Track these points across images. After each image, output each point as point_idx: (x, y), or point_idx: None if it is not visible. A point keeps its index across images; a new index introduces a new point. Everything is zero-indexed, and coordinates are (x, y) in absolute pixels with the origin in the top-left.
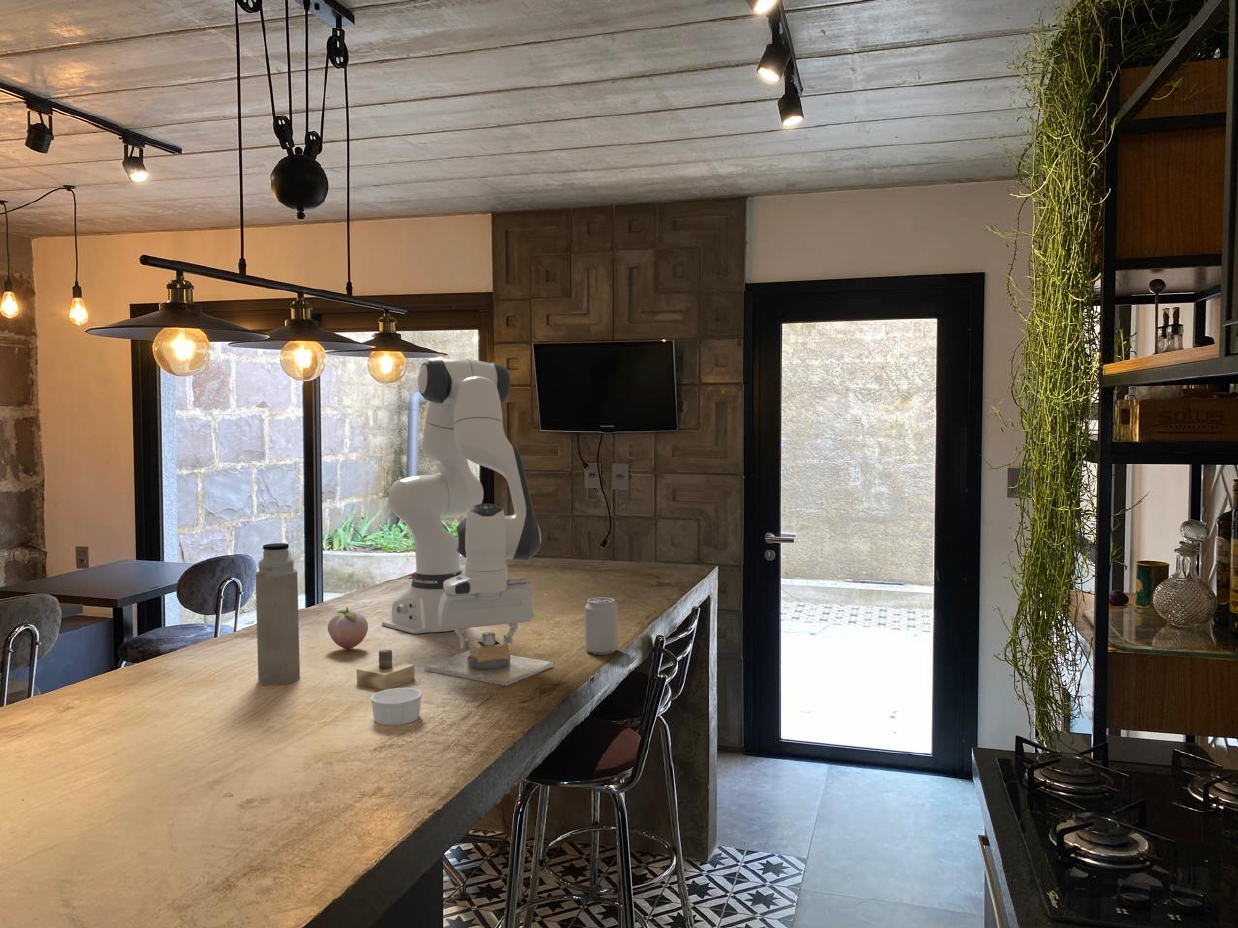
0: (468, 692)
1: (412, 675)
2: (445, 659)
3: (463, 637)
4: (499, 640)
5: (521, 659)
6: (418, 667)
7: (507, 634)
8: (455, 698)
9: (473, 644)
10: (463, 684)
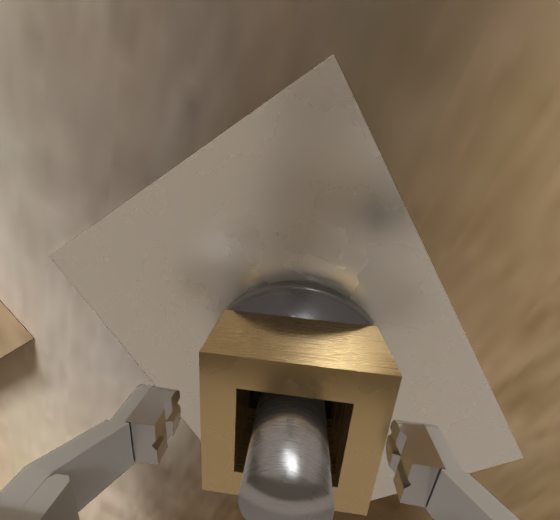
0: (168, 500)
1: (11, 351)
2: (143, 204)
3: (107, 486)
4: (370, 427)
5: (441, 370)
6: (46, 195)
7: (440, 468)
8: (130, 517)
9: (201, 425)
10: (169, 445)
